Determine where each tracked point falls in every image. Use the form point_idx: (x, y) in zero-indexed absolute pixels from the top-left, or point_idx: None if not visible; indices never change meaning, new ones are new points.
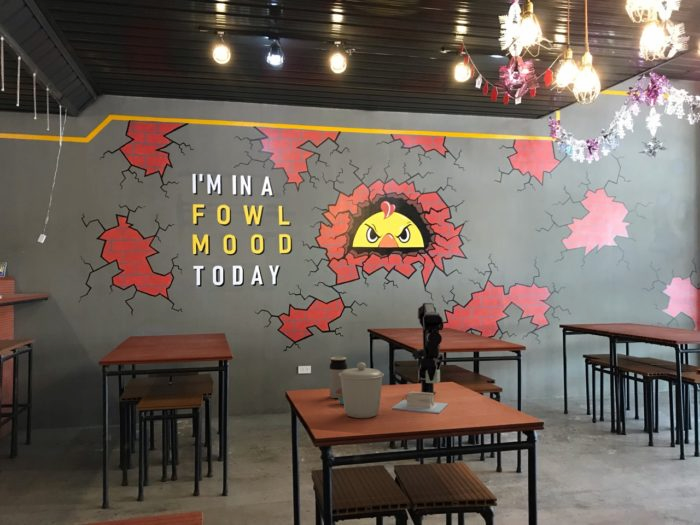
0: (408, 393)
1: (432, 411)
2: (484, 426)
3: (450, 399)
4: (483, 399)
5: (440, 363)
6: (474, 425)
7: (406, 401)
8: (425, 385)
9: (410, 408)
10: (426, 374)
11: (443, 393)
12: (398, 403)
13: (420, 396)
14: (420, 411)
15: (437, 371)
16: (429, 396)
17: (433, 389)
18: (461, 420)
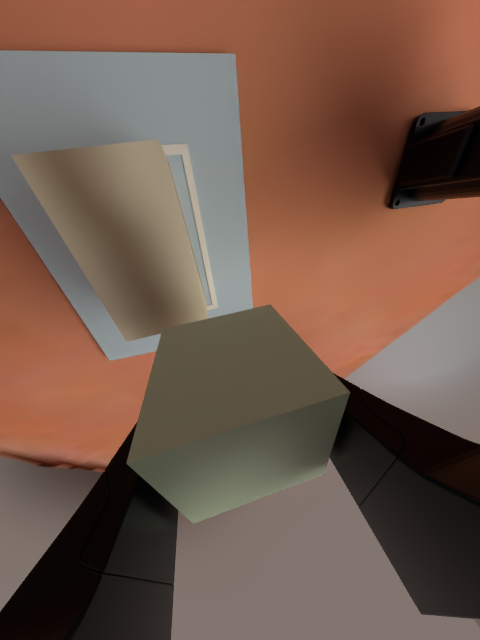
0: (59, 155)
1: (97, 340)
2: (93, 466)
3: (334, 299)
4: (349, 365)
5: (405, 587)
6: (80, 456)
7: (192, 111)
8: (456, 153)
9: (47, 226)
10: (147, 405)
11: (427, 236)
12: (92, 56)
13: (96, 283)
14: (66, 292)
15: (204, 518)
16: (124, 336)
17: (440, 199)
18: (96, 425)
